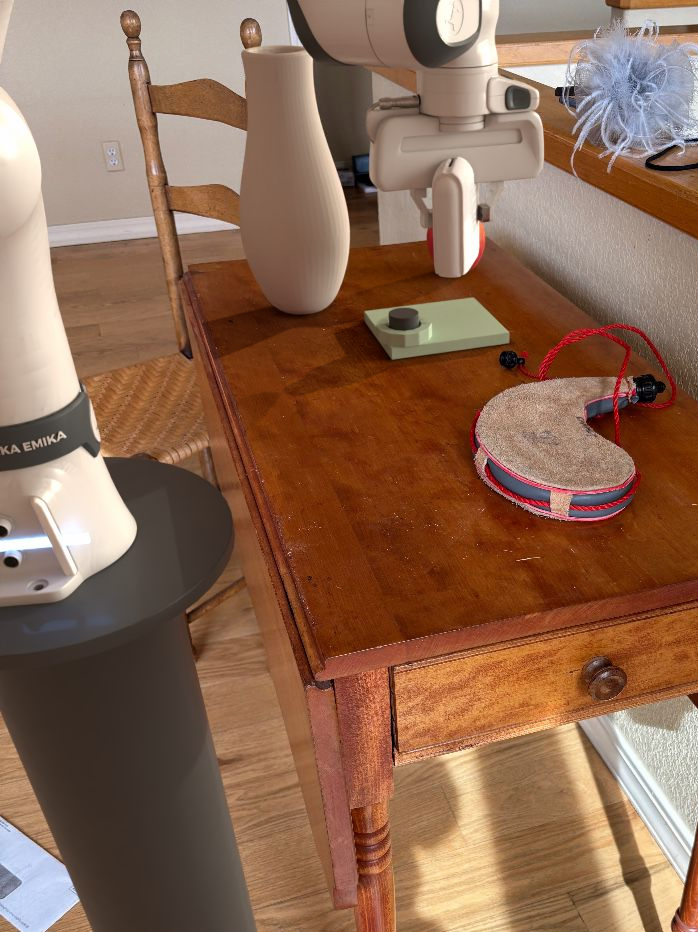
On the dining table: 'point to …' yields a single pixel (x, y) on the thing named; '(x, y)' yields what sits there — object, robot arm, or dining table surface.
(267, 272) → the vase
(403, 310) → the button
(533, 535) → the dining table surface
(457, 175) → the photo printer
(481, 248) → the apple
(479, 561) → the dining table surface
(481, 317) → the scale
